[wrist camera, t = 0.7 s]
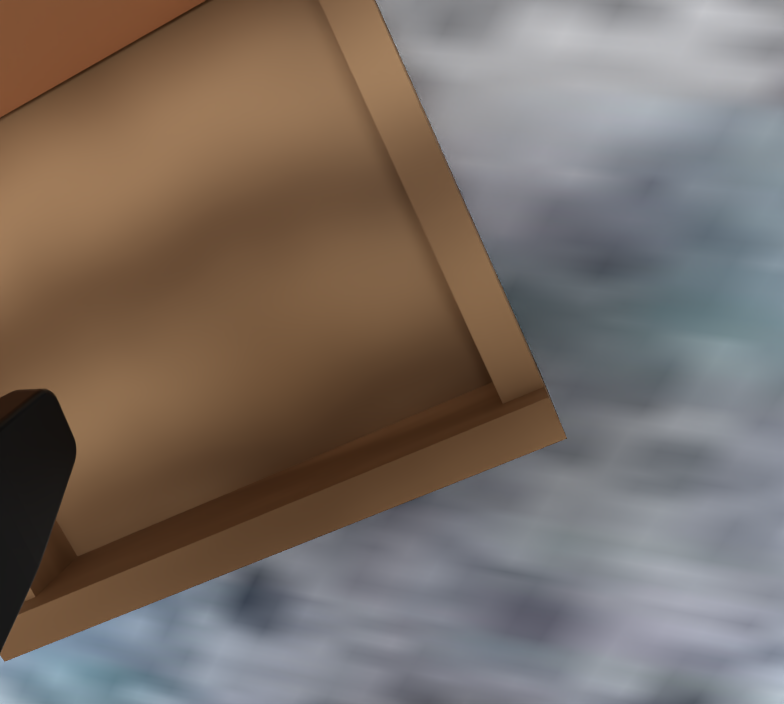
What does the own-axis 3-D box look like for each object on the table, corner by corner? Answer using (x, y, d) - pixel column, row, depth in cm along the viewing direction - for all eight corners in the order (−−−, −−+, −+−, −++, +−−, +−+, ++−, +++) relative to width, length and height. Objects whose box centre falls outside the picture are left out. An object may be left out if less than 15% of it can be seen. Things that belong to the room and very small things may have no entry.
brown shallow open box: (542, 377, 24) (566, 438, 18) (101, 561, 28) (4, 661, 22) (334, -93, 22) (286, -195, 16) (-127, 171, 25) (-306, 167, 19)
